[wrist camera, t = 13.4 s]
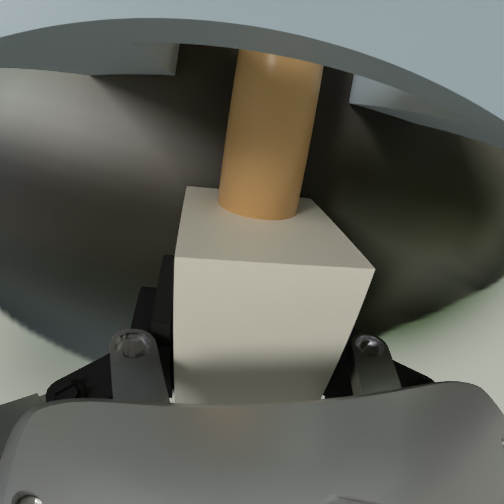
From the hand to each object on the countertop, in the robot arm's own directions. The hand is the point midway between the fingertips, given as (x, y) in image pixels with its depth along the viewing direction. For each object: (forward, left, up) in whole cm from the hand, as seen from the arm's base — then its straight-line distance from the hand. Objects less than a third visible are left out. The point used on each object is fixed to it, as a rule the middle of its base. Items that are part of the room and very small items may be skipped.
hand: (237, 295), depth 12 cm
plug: (-4, 0, 0) cm, 4 cm away
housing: (-9, 0, -1) cm, 9 cm away
